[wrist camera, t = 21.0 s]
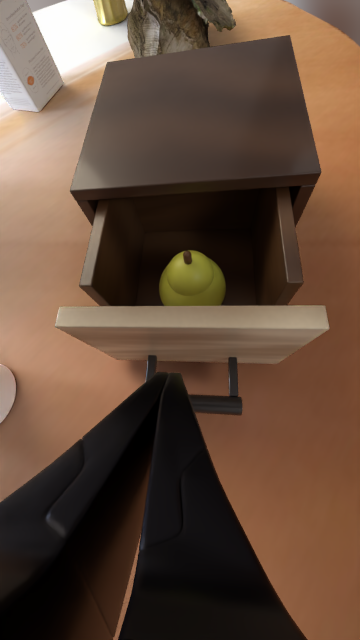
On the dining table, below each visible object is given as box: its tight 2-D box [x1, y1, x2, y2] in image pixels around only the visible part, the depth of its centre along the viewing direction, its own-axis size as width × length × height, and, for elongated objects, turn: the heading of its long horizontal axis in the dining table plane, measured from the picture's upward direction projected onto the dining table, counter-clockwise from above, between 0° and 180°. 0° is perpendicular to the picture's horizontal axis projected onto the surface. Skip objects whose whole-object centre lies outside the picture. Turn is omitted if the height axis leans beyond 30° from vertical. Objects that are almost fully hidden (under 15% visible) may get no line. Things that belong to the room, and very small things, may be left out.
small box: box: [0, 0, 64, 112], centre depth 33 cm, size 8×6×13 cm
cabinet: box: [70, 35, 321, 227], centre depth 21 cm, size 15×15×11 cm
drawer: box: [55, 187, 329, 415], centre depth 17 cm, size 17×13×9 cm
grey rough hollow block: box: [127, 0, 236, 58], centre depth 34 cm, size 28×13×15 cm
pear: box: [159, 250, 226, 306], centre depth 17 cm, size 5×5×7 cm
